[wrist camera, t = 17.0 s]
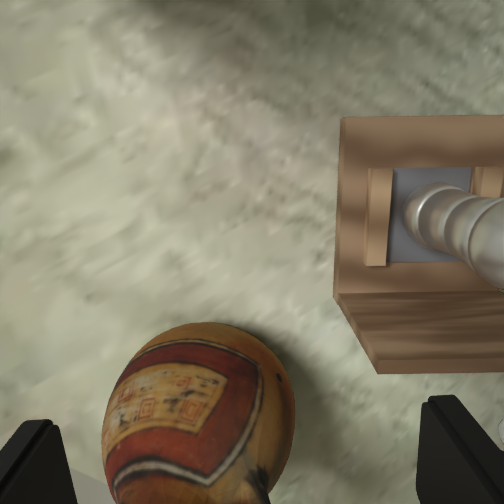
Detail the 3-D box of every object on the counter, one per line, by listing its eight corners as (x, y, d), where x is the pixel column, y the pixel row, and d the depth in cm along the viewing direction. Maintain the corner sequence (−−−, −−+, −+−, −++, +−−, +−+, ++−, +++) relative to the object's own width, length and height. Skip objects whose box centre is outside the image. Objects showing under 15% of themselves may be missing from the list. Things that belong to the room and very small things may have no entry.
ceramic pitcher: (129, 302, 46) (-78, 570, 17) (297, 312, 46) (378, 590, 17) (132, 439, 51) (-24, 826, 22) (283, 447, 51) (326, 835, 22)
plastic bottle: (409, 253, 41) (550, 346, 22) (383, 199, 40) (510, 248, 20) (465, 224, 40) (663, 294, 21) (441, 167, 39) (630, 187, 20)
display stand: (340, 119, 40) (400, 100, 24) (511, 116, 40) (682, 95, 24) (332, 296, 45) (377, 376, 30) (483, 294, 46) (609, 372, 30)
